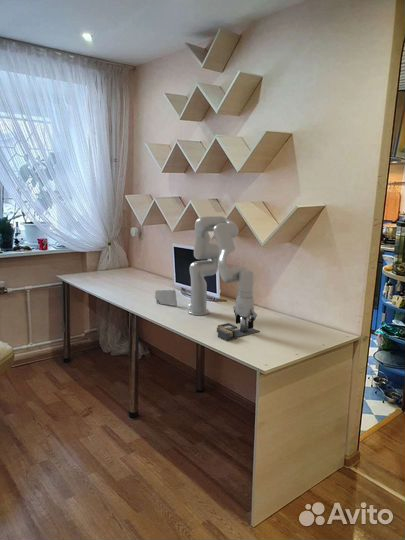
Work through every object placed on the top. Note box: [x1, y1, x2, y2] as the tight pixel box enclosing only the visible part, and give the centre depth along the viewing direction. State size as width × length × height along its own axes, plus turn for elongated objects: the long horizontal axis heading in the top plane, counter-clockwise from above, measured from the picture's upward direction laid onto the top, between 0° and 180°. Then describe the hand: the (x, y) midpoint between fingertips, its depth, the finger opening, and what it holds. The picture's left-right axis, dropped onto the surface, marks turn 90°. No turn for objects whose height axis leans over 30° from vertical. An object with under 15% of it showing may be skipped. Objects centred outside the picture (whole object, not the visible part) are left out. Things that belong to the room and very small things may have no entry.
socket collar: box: [217, 322, 238, 330], centre depth 222 cm, size 8×8×1 cm
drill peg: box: [239, 315, 249, 333], centre depth 214 cm, size 4×4×9 cm
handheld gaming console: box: [154, 288, 178, 307], centre depth 264 cm, size 11×3×15 cm
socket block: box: [217, 326, 238, 342], centre depth 206 cm, size 7×7×4 cm
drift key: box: [216, 326, 233, 337], centre depth 208 cm, size 10×3×3 cm, turn 37°
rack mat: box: [235, 327, 260, 338], centre depth 215 cm, size 8×15×1 cm, turn 127°
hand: (244, 325), depth 214 cm, fingers open, 9 cm apart
